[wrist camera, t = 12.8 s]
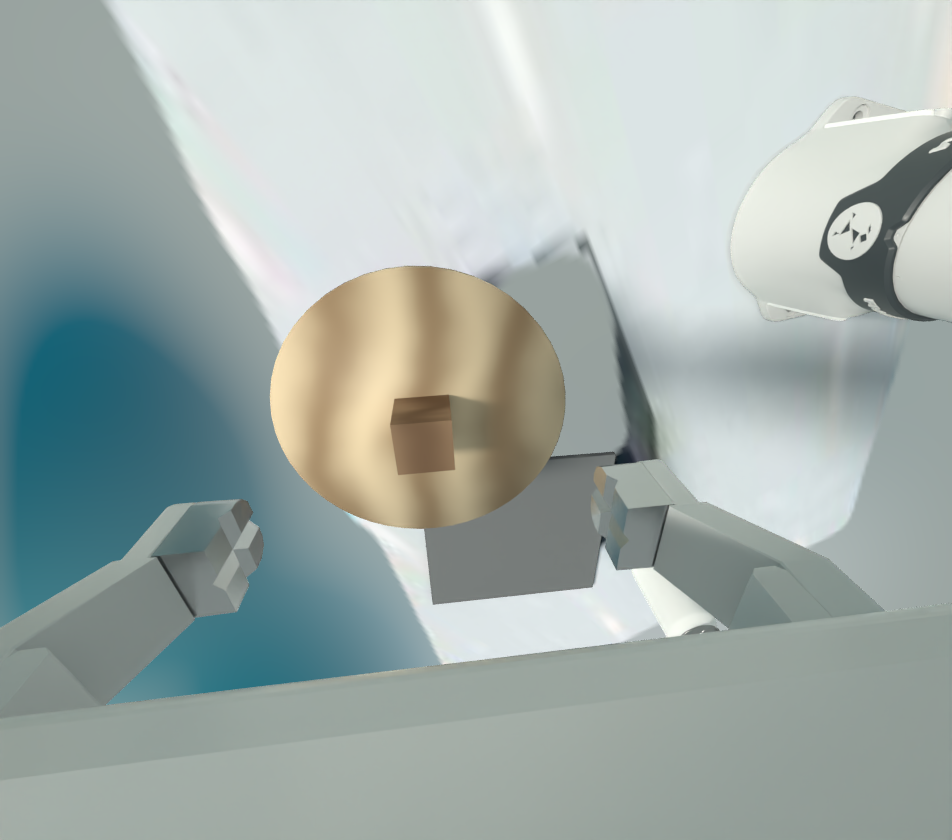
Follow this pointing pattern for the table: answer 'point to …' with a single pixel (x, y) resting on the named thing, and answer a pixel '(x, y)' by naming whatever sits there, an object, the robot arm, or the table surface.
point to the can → (673, 605)
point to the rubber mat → (523, 539)
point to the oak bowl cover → (417, 397)
